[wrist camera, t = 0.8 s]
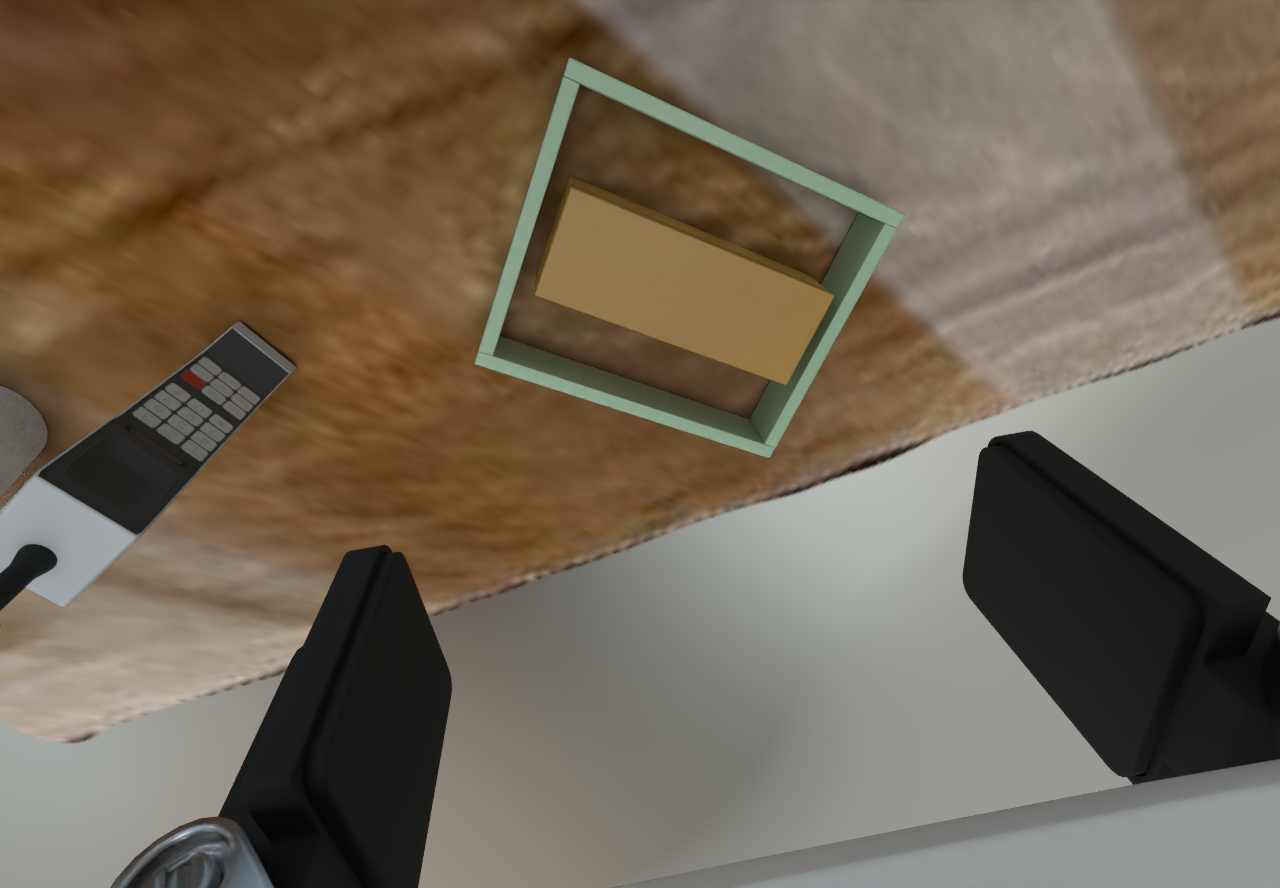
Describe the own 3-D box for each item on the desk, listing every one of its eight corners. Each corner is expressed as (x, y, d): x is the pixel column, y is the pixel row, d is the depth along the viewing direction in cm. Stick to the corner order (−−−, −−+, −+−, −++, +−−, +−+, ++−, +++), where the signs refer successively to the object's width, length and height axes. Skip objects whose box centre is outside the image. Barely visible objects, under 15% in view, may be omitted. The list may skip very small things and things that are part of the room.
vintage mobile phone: (299, 365, 38) (-46, 739, 16) (245, 417, 39) (-144, 832, 17) (241, 318, 36) (-228, 666, 15) (187, 374, 38) (-322, 773, 16)
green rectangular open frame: (568, 59, 32) (569, 57, 29) (877, 203, 37) (905, 214, 34) (480, 342, 39) (474, 364, 36) (754, 432, 44) (769, 458, 41)
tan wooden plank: (569, 175, 35) (570, 186, 31) (808, 274, 39) (835, 295, 35) (536, 273, 37) (533, 295, 33) (765, 357, 41) (786, 385, 37)
